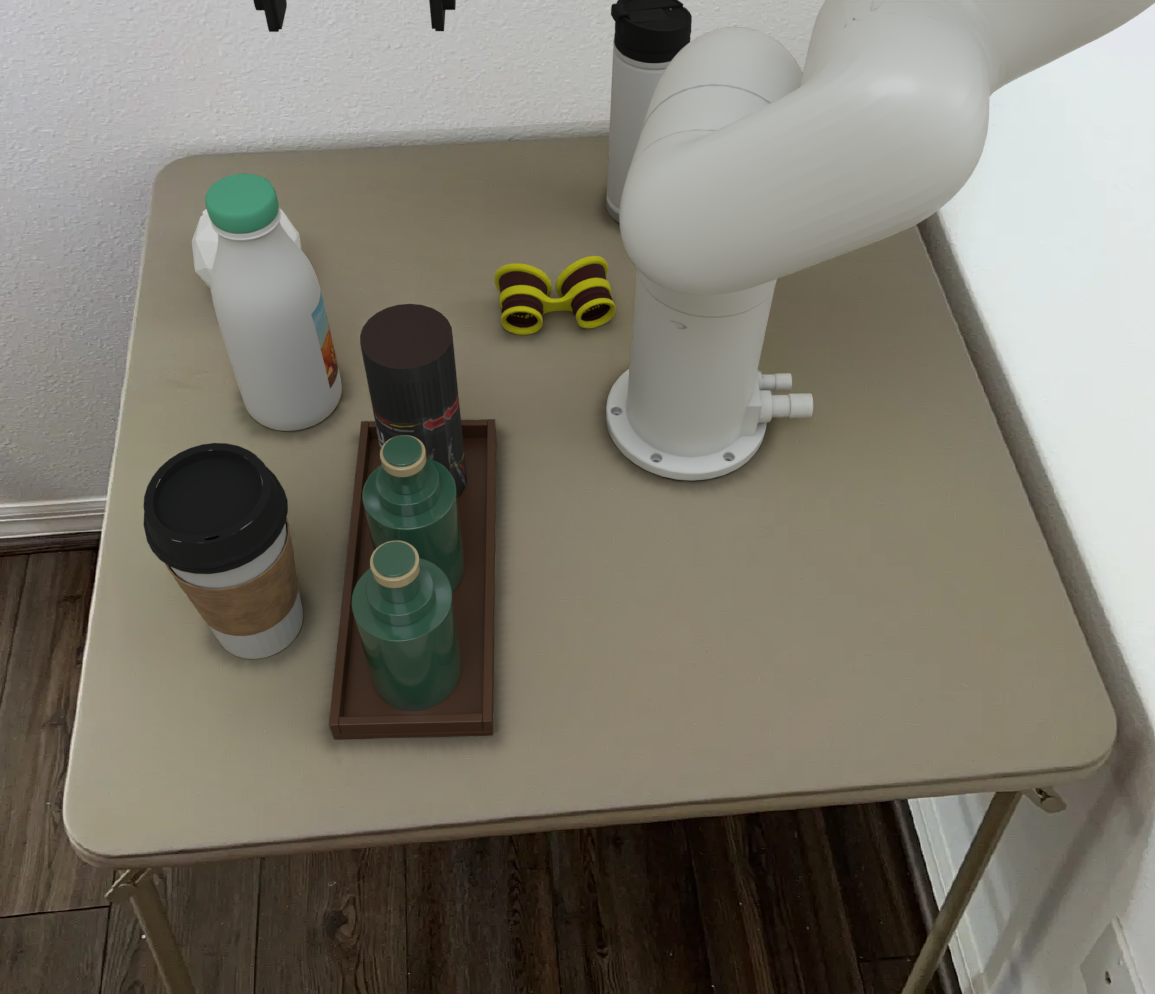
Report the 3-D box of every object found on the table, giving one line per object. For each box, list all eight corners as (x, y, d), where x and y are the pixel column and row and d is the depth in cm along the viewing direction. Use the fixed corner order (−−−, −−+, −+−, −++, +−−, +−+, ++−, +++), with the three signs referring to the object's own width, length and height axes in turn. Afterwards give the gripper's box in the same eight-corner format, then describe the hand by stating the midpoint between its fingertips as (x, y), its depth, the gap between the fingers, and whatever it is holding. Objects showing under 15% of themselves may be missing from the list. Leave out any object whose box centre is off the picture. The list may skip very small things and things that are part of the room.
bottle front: (462, 629, 77) (448, 514, 66) (460, 709, 73) (444, 602, 63) (374, 631, 77) (345, 516, 66) (367, 712, 73) (336, 604, 62)
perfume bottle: (338, 285, 95) (286, 221, 102) (282, 206, 88) (230, 143, 95) (253, 346, 94) (207, 276, 102) (190, 271, 87) (144, 202, 94)
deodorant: (483, 479, 85) (471, 335, 73) (423, 525, 82) (400, 383, 70) (431, 436, 87) (411, 290, 75) (370, 479, 84) (340, 335, 72)
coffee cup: (203, 690, 74) (135, 563, 62) (192, 585, 79) (127, 449, 67) (330, 659, 76) (288, 530, 64) (312, 558, 81) (270, 421, 69)
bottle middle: (465, 533, 82) (452, 412, 71) (463, 604, 78) (449, 487, 67) (382, 534, 81) (356, 413, 71) (376, 606, 78) (348, 489, 67)
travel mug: (593, 194, 106) (600, -11, 90) (659, 181, 107) (678, -22, 91) (614, 236, 102) (626, 31, 86) (683, 223, 104) (706, 18, 88)
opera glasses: (501, 345, 95) (501, 310, 91) (494, 293, 97) (493, 257, 93) (615, 333, 96) (620, 298, 92) (605, 283, 98) (609, 246, 94)
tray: (496, 436, 88) (495, 418, 86) (493, 735, 73) (491, 721, 71) (364, 438, 88) (360, 420, 86) (333, 739, 72) (328, 725, 71)
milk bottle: (324, 441, 87) (274, 238, 71) (230, 425, 88) (159, 221, 72) (356, 370, 92) (315, 164, 76) (266, 355, 93) (206, 149, 77)
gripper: (491, -341, 57) (503, -14, 71) (143, -344, 56) (223, -13, 70) (489, -284, 52) (502, 54, 66) (111, -287, 52) (203, 55, 65)
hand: (359, 19), depth 68 cm, fingers open, 9 cm apart
